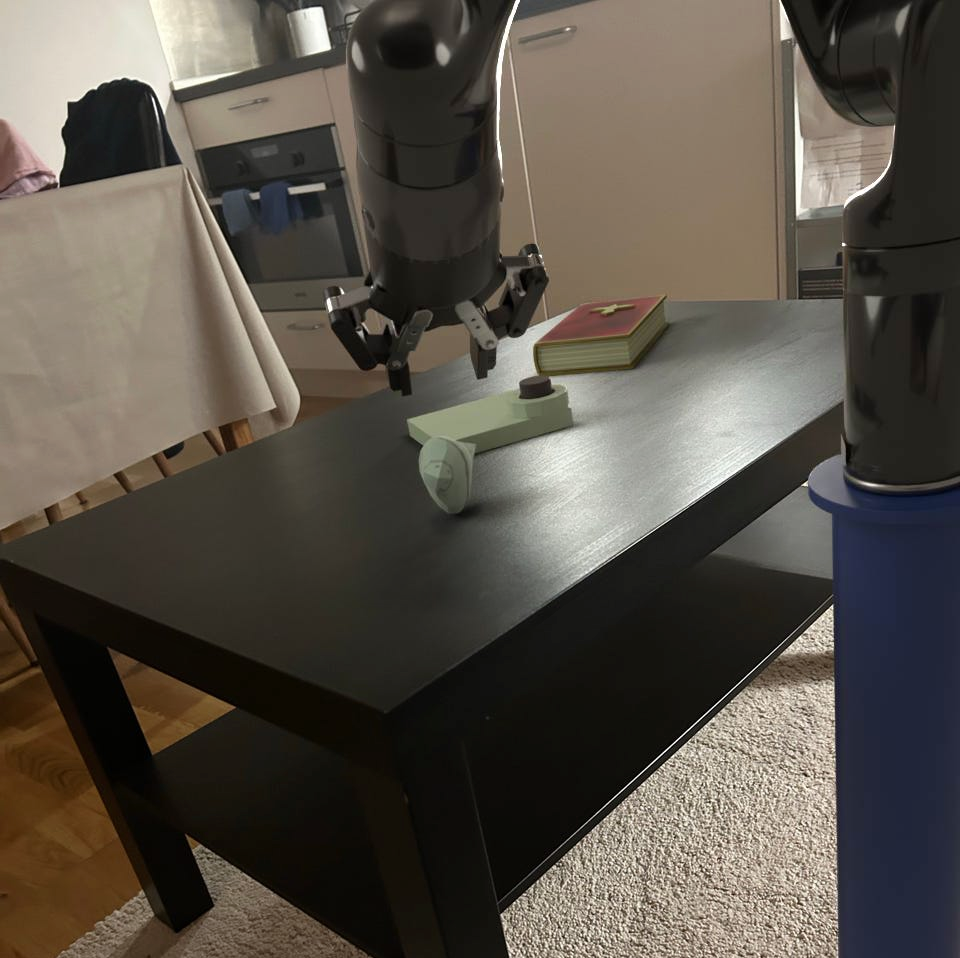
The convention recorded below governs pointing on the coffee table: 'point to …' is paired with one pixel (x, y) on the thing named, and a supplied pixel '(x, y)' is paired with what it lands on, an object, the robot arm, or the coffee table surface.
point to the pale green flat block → (496, 419)
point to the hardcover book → (601, 336)
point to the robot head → (447, 471)
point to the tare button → (535, 387)
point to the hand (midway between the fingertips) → (441, 375)
